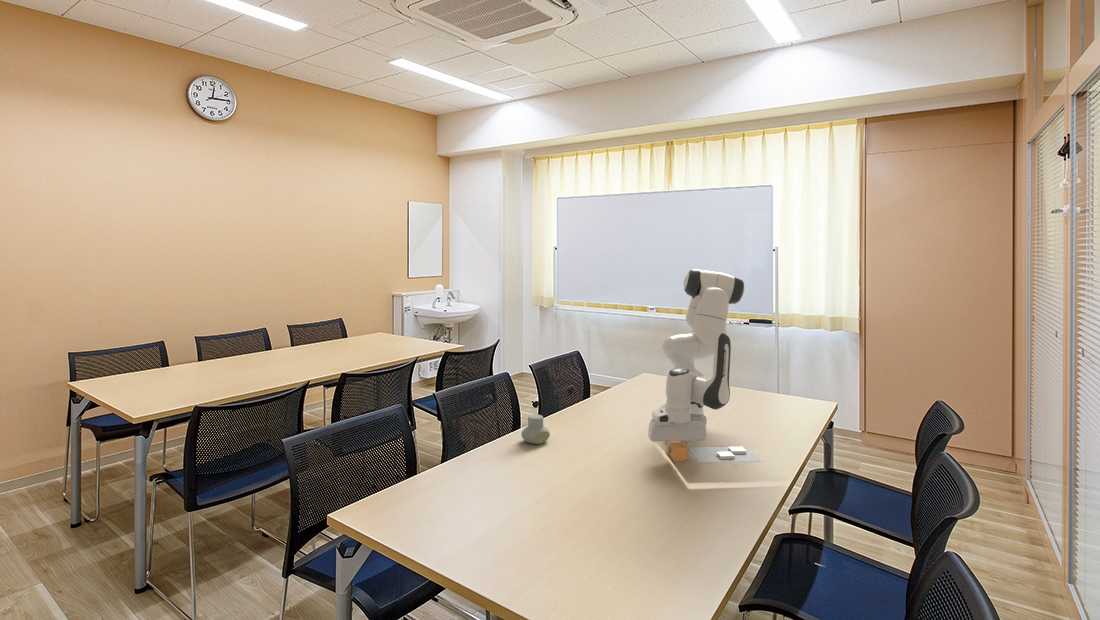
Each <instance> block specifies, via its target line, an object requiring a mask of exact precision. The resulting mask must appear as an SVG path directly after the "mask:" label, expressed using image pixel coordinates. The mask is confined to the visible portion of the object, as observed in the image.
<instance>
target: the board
mask: <svg viewBox="0 0 1100 620" xmlns="http://www.w3.org/2000/svg"><path fill="white" fill-rule="evenodd" d="M728 447H729V446H707V447H705V446H704V447H703V446H701V447H699V446H698V447H695V446H694V447H689V448H688V452H690V453H691V455H692V456H693V457H694V458H695V459H696V461H697V462H698V463H699V464H700V463H701V464H704V463H705V464H706V463H708V464H710V463H714V464H715V463H746V462H747V463H751V462H762V460H761V459H760V458H759V457H758V456H757V455H755V453H754V452H752V451H751V450H750V449H749V448H748V447H746V446H744V445H742V446H741V445H740V446H738V447H743V448H744V449H745V450H746V454H733V455H735V459H720V458H719V457H718V456H717V452H730V451H729V450H728Z"/></svg>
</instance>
